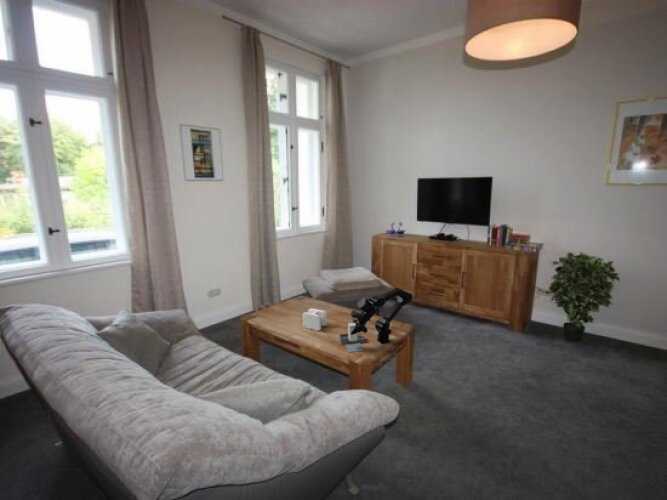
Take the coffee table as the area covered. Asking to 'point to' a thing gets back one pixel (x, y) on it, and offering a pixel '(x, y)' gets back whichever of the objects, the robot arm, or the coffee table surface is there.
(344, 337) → the power strip
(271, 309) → the coffee table surface
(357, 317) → the robot arm
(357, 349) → the rubber pad
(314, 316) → the cable organizer
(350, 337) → the block
